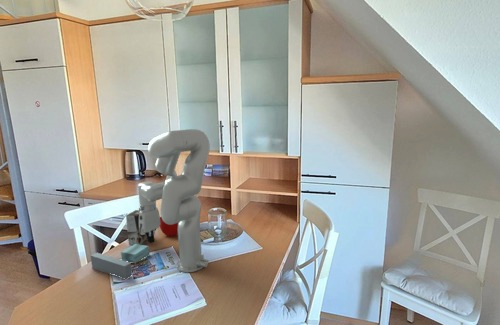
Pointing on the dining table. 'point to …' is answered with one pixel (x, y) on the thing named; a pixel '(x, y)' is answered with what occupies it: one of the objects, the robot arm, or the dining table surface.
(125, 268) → the board
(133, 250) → the block
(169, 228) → the ceramic cup
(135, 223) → the coffee box
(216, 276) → the dining table surface
